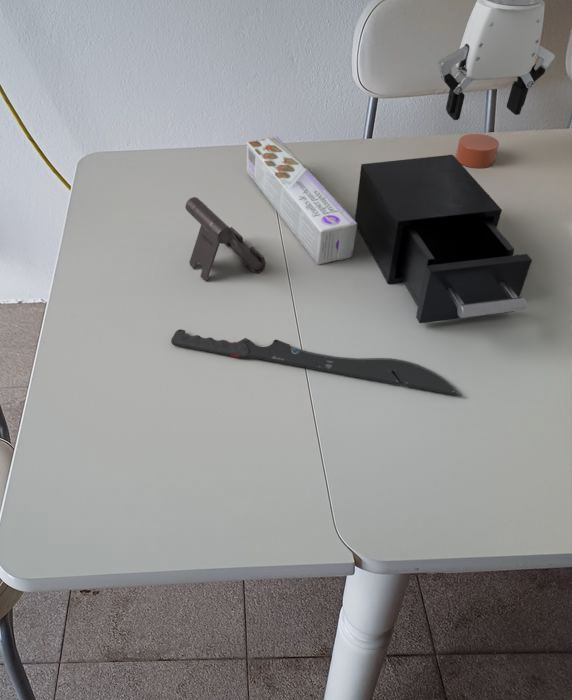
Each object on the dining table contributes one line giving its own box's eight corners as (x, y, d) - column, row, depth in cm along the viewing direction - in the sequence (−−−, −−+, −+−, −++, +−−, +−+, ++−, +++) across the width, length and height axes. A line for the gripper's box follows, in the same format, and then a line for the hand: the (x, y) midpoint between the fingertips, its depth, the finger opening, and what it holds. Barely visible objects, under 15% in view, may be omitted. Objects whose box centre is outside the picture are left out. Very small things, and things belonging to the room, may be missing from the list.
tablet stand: (266, 271, 84) (266, 215, 78) (213, 291, 82) (209, 234, 76) (232, 239, 90) (231, 185, 84) (182, 257, 87) (176, 202, 82)
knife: (462, 372, 69) (464, 368, 69) (461, 400, 66) (462, 396, 66) (182, 323, 77) (181, 319, 76) (169, 346, 74) (169, 342, 74)
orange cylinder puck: (484, 149, 107) (488, 131, 105) (501, 166, 102) (505, 148, 100) (449, 153, 106) (453, 135, 104) (464, 169, 102) (468, 152, 100)
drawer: (533, 337, 72) (553, 284, 67) (434, 350, 71) (447, 297, 66) (466, 247, 85) (479, 198, 80) (381, 257, 84) (389, 207, 79)
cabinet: (484, 272, 82) (502, 209, 76) (387, 284, 81) (398, 221, 75) (439, 213, 93) (452, 154, 87) (354, 223, 92) (361, 163, 86)
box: (354, 257, 86) (359, 220, 82) (318, 266, 84) (320, 229, 81) (276, 168, 105) (276, 134, 101) (245, 174, 104) (245, 140, 100)
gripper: (560, -21, 91) (524, 99, 103) (442, -13, 90) (419, 108, 101) (589, -6, 86) (548, 119, 97) (464, 3, 84) (438, 129, 96)
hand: (482, 113), depth 99 cm, fingers open, 9 cm apart
